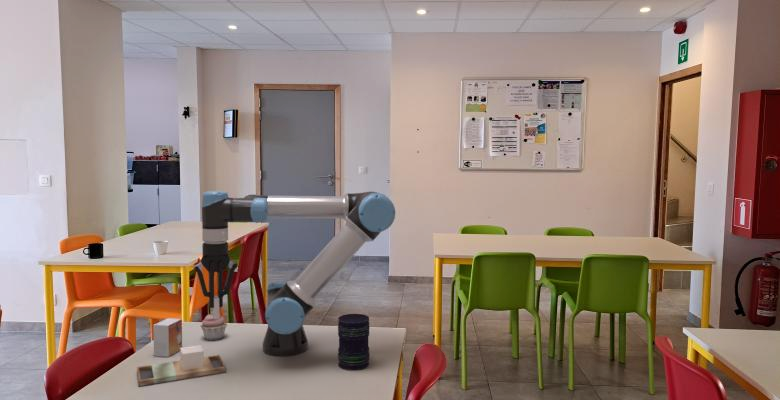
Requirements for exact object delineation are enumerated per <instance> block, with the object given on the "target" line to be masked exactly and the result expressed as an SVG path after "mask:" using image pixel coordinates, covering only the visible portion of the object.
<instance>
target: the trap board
mask: <svg viewBox="0 0 780 400" xmlns="http://www.w3.org/2000/svg"><path fill="white" fill-rule="evenodd" d="M225 373H226V374H227V365H226V364H225V363H224V361H223V359H222V357H221V355H220V354H217V355H216V354H213V355H207V356H204V367H203V368H196V369H190V370H184V371H183V370H182V367H181V361H180V360H175V361H169V362H161V363H155V364H149V365H143V366H136V374H137V381H138V388H140V387H147V386H154V385H160V384H165V383H170V382H177V381H178V382H179V381H182V380H189V379H195V378H202V377H209V376H213V375H214V376H215V375H219V374H220V375H221V374H225Z"/></svg>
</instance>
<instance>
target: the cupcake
mask: <svg viewBox="0 0 780 400" xmlns="http://www.w3.org/2000/svg"><path fill="white" fill-rule="evenodd" d="M199 326H200V328H201V330H202V331H203V336H204V339H205V340H207V341H218V340H221V339H223V338H224V335H225V331H226V328H227V326H228V323H227V322H225V317H223V316H221V313H219V319H214V318H213V310H212V311H211V313H209V314H207V315H206V316H205V317H204V319H203V320H202V321H201V325H199Z"/></svg>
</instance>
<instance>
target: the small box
mask: <svg viewBox="0 0 780 400" xmlns="http://www.w3.org/2000/svg"><path fill="white" fill-rule="evenodd" d="M152 330H153V356H154V357H166V358H167V357H168V358H170V357H171V356H173V355H174V354H177V353H178V352H180V348H183V321H182V318H172V317H171V318H170V317H169V318H168V317H167V318H165V319H164V320H160V321H159V322H157V323H154V324H153V329H152Z"/></svg>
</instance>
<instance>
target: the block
mask: <svg viewBox="0 0 780 400" xmlns="http://www.w3.org/2000/svg"><path fill="white" fill-rule="evenodd" d="M179 353H180V354H179V357H180V360H179V361H181V367H182V370H183V371H184V370H190V369H196V368H203V367H204V357H205V354H204V353H205V351H204V348H203V347H202V345H201V344H198V345H191V346H185V347H183V346H182V348H180V351H179Z"/></svg>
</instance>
